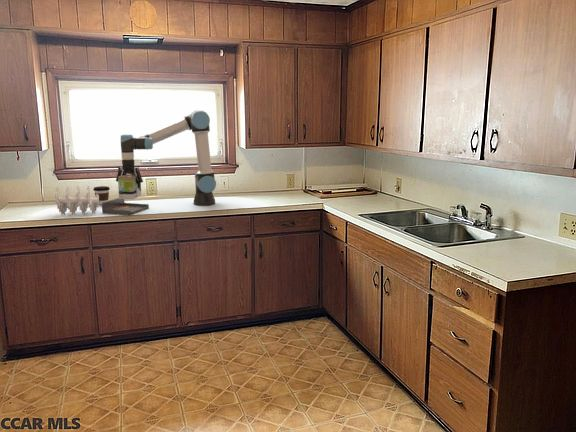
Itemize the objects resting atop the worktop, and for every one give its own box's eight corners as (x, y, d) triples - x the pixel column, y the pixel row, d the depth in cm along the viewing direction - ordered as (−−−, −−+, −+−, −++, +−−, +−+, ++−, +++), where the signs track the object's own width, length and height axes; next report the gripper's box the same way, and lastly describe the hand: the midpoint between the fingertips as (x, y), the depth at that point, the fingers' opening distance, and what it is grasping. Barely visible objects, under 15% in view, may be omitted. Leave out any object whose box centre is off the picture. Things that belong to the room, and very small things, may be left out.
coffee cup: (105, 206, 327) (104, 188, 324) (91, 205, 329) (89, 188, 327) (114, 203, 337) (112, 186, 335) (100, 202, 340) (98, 185, 337)
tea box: (134, 199, 301) (132, 176, 298) (118, 199, 301) (116, 176, 298) (141, 195, 316) (140, 173, 313) (126, 195, 316) (125, 173, 313)
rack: (148, 208, 319) (148, 198, 318) (129, 215, 299) (129, 204, 297) (122, 206, 325) (122, 196, 323) (102, 213, 304) (101, 202, 302)
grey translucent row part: (97, 220, 302) (55, 220, 297) (101, 204, 316) (60, 203, 310) (94, 197, 291) (50, 196, 286) (98, 181, 305) (56, 180, 299)
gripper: (147, 159, 304) (149, 192, 308) (115, 157, 310) (117, 191, 314) (140, 160, 296) (142, 194, 301) (108, 158, 303) (110, 192, 307)
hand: (130, 192), depth 308 cm, fingers closed on tea box, 11 cm apart
